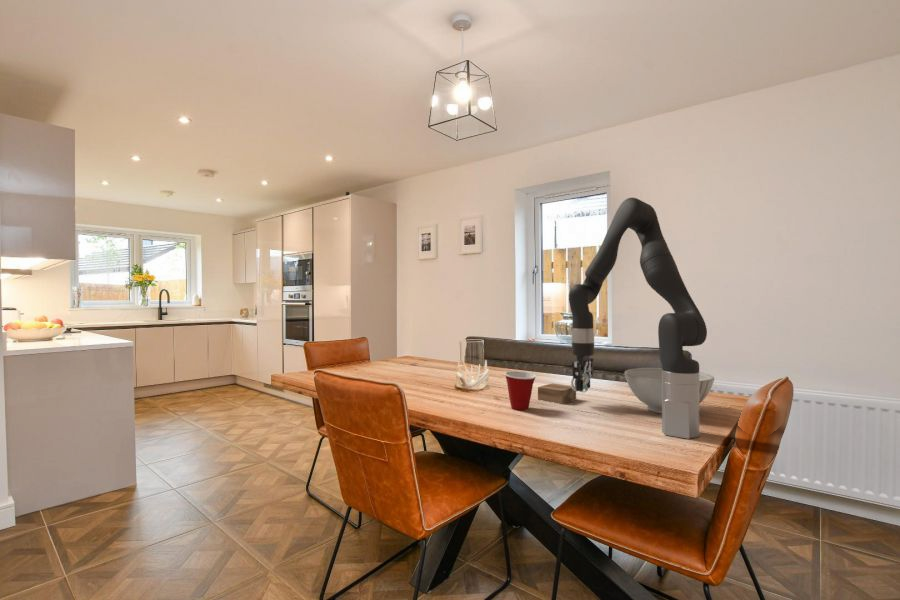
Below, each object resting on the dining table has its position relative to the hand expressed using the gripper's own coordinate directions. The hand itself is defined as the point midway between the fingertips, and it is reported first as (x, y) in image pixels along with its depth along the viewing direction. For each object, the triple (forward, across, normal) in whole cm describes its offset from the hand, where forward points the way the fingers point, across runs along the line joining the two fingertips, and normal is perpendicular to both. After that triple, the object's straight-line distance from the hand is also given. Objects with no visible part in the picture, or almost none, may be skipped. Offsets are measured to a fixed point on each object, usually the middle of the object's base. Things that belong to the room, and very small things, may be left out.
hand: (583, 389), depth 158 cm
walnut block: (+6, +3, +11) cm, 13 cm away
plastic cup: (+6, -17, +15) cm, 24 cm away
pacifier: (-1, +1, +2) cm, 3 cm away
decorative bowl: (+6, +10, -25) cm, 28 cm away
